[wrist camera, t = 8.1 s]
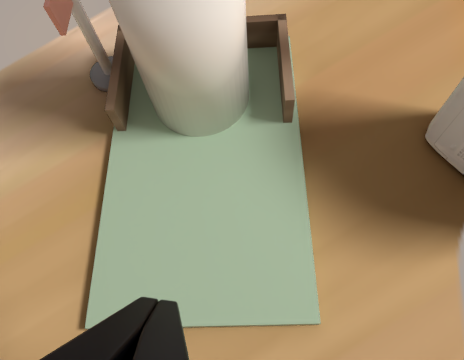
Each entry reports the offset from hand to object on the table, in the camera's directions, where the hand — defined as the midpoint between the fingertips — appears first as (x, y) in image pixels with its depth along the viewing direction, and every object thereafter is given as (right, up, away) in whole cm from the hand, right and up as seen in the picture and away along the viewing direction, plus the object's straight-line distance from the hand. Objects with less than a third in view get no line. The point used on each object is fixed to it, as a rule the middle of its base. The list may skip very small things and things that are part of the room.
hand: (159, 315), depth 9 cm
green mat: (0, +4, +17) cm, 18 cm away
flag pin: (-8, +11, +21) cm, 25 cm away
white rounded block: (-1, +9, +19) cm, 21 cm away
